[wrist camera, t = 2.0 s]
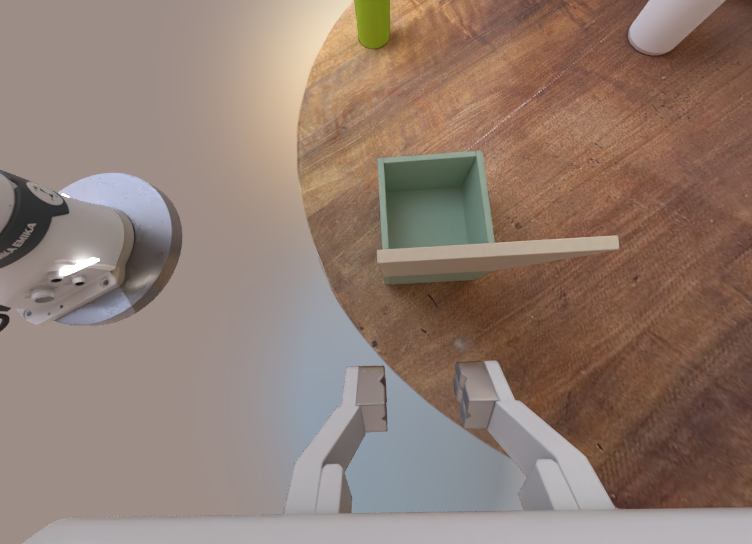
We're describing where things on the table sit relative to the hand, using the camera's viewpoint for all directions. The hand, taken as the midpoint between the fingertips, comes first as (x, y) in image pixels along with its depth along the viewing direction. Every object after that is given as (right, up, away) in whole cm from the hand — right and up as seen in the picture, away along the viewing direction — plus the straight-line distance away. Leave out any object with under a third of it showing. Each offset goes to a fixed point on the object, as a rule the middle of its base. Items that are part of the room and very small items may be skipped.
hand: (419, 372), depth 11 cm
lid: (+6, +5, +13) cm, 15 cm away
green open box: (+6, +10, +32) cm, 34 cm away
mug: (+46, +46, +37) cm, 75 cm away
